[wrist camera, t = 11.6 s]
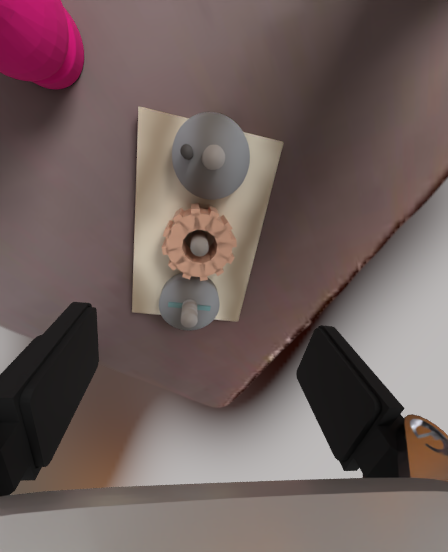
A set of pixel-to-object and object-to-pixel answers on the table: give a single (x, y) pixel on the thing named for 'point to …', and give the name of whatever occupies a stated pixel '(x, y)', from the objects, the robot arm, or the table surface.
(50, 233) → the table surface
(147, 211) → the board
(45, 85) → the pepper mill
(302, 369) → the robot arm
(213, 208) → the gear
